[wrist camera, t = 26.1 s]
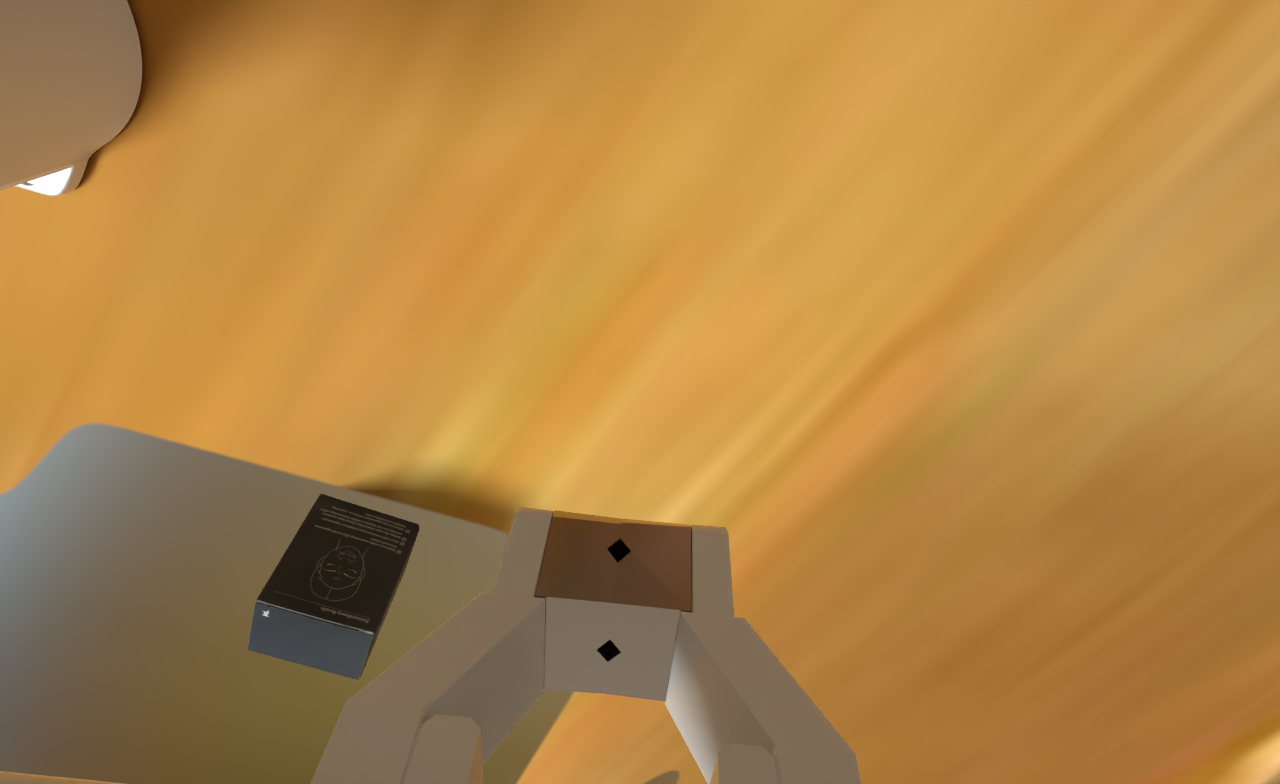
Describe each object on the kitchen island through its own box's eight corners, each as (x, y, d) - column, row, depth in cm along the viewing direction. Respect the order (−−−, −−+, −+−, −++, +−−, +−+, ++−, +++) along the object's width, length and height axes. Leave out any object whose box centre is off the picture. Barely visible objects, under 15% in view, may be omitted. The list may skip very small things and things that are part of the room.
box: (309, 540, 59) (243, 651, 51) (321, 490, 56) (253, 599, 48) (406, 570, 61) (358, 684, 52) (422, 523, 58) (375, 635, 49)
